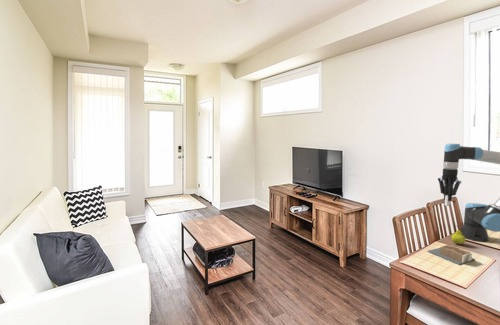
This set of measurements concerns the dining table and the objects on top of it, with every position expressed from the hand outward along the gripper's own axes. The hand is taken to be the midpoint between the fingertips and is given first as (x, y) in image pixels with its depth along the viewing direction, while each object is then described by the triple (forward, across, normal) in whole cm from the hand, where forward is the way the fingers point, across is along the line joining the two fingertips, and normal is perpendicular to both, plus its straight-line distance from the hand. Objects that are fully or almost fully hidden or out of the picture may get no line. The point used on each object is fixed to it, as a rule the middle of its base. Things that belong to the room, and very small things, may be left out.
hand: (447, 205), depth 171 cm
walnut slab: (+22, +10, -16) cm, 29 cm away
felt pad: (+24, +14, -16) cm, 32 cm away
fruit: (+25, +5, +6) cm, 26 cm away
